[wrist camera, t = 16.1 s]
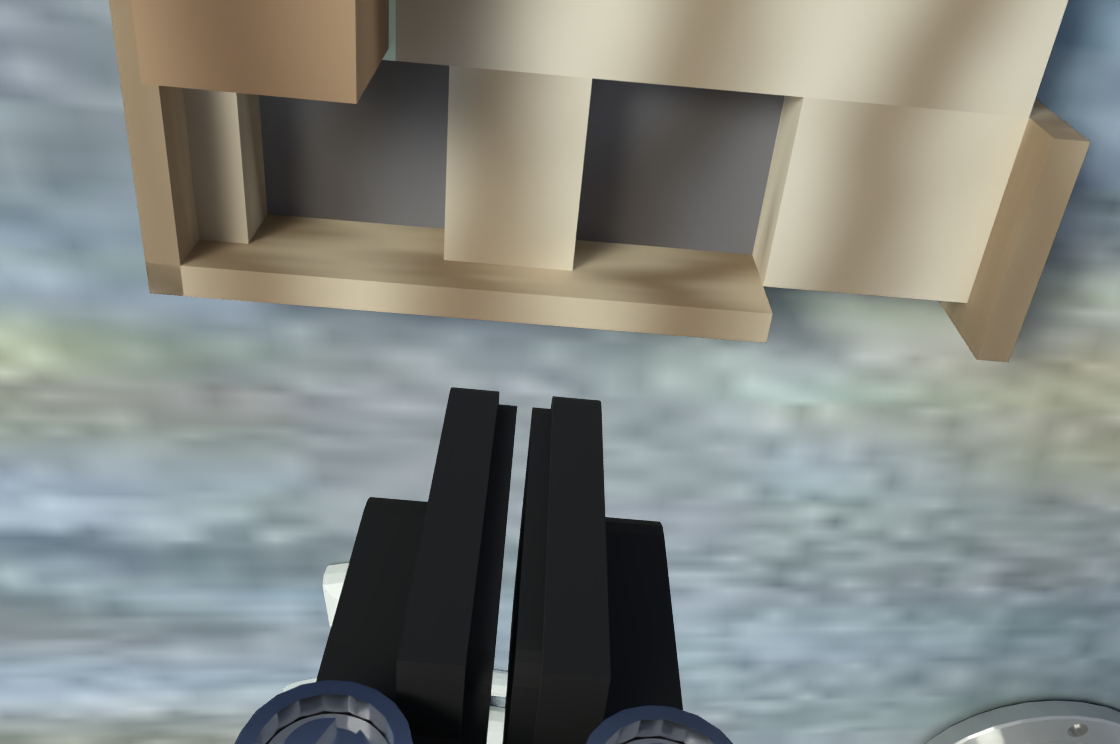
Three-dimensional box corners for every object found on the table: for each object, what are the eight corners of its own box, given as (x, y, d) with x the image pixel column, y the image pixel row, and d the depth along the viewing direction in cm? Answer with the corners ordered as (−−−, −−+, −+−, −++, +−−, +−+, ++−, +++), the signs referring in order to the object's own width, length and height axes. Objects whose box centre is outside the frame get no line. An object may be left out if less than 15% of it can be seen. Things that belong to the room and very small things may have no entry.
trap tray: (1115, -162, 28) (1197, -146, 24) (963, 296, 35) (1008, 361, 31) (140, -260, 27) (72, -259, 23) (194, 233, 34) (149, 293, 31)
